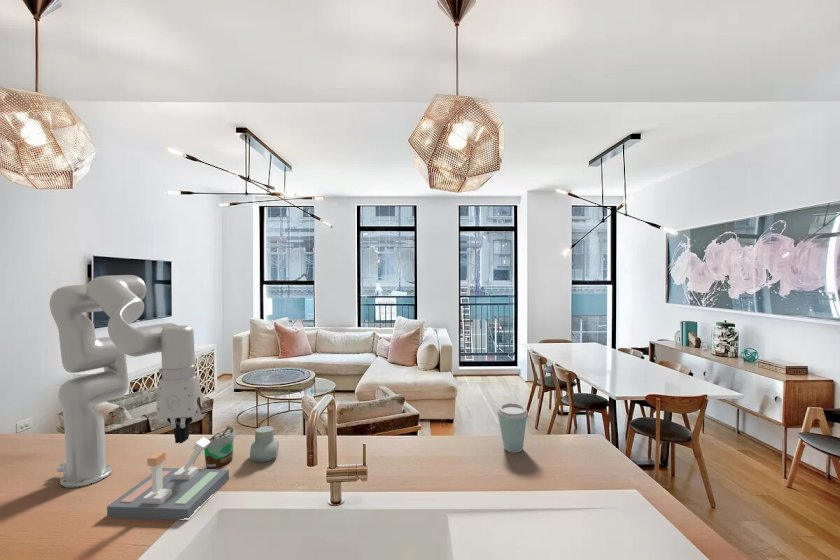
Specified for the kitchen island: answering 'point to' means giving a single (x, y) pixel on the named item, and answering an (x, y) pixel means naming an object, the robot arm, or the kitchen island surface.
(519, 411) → the disposable coffee cup
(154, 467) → the lever
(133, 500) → the switch panel
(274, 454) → the air freshener
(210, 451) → the food container
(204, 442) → the lever
